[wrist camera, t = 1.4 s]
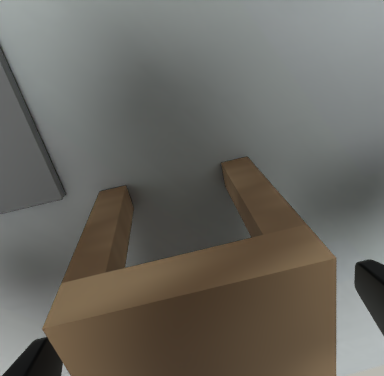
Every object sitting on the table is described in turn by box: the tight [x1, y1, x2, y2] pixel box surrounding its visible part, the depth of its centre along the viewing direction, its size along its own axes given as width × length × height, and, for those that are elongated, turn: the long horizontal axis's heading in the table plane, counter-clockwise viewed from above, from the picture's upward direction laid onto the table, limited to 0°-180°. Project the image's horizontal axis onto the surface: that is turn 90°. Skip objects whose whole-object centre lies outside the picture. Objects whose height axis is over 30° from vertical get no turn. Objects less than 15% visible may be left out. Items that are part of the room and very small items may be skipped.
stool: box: [42, 157, 336, 376], centre depth 9 cm, size 6×6×6 cm
